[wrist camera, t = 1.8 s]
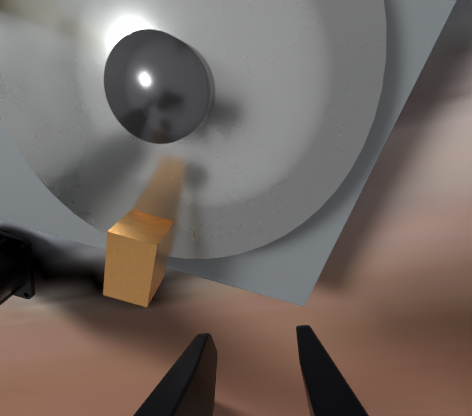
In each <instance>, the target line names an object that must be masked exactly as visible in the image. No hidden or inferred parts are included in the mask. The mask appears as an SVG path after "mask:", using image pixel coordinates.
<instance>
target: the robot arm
mask: <svg viewBox="0 0 472 416" xmlns="http://www.w3.org/2000/svg"><path fill="white" fill-rule="evenodd" d="M12 295H15V296H18V297H22V298H25V299H31V298H32V297H33V296H34V295H35V286H34V272H33V259H32V246H31V242H30V241H29V240H28V239H26V238H24V237H20V236H17V235H13V234H10V233H6V232H3V231H0V305H1V304H2V303H4V302H5V301H6V300H7V299H9V298H10V297H11V296H12ZM296 332H297V342H298V352H299V361H300V366H301V371H302V376H303V381H304V386H305V391H306V396H307V401H308V406H309V410H310V415H311V416H369V415H368V414H367V412H366V411H365V409H364V408H363V406H362V405H361V403H360V401H359V400H358V398H357V397H356V395H355V394H354V392H353V391H352V389H351V388H350V386H349V385H348V383H347V382H346V380H345V379H344V377H343V376H342V374H341V373H340V371H339V370H338V368H337V366H336V365H335V363H334V362H333V360H332V359H331V357H330V356H329V354H328V353H327V351H326V350H325V348H324V347H323V345H322V344H321V342H320V341H319V339H318V338H317V336H316V335H315V333H314V331H313V330H312V328H311V327H310V326H309V325H300V326H297V327H296ZM216 368H217V350H216V347H215V345H214V342H213V339H212V336H211V335H210V334H209V333H204V334H198V335H197V336H196V337H195V338H194V340H193V341H192V342H191V343H190V345H189V346H188V347H187V349H186V350H185V351H184V352H183V354H182V355H181V356H180V357H179V359H178V360H177V361H176V362H175V364H174V365H173V366H172V368H171V369H170V370H169V371H168V373H167V374H166V375H165V376H164V378H163V379H162V380H161V381H160V383H159V384H158V385H157V386H156V388H155V389H154V390H153V392H152V393H151V394H150V395H149V397H148V398H147V399H146V400H145V402H144V403H143V404H142V405H141V407H140V408H139V409H138V410H137V412H136V413H135V414H134V416H213V409H214V397H215V383H216Z"/></svg>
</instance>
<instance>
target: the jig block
mask: <svg viewBox="0 0 472 416" xmlns="http://www.w3.org/2000/svg"><path fill="white" fill-rule="evenodd" d="M456 1H457V0H384V6H385V15H386V62H385V70H384V77H383V85H382V91H381V95H380V99H379V103H378V107H377V110H376V114H375V118H374V121H373V124H372V126H371V129H370V131H369V134H368V136H367V139H366V141H365V144H364V146H363V148H362V150H361V152H360V154H359V156H358V158H357V159H356V161H355V163H354V165H353V167H352V169H351V170H350V172H349V173H348V175H347V176H346V177H345V179H344V180H343V182H342V183H341V184H340V186H339V187H338V189H337V190H336V191H335V192H334V194H333V195H332V196H331V197H330V198H329V199H328V200H327V201H326V202H325V203H324V205H323V206H322V207H321V208H320V209H319V210H318V211H316V212H315V213H314V214H313V215H312V216H311V217H309V218H308V219H307V220H306V221H305V222H304V223H302V224H301V225H299V226H298V227H296V228H295V229H293V230H292V231H290V232H289V233H287V234H286V235H284V236H283V237H281V238H279V239H277V240H275V241H273V242H271V243H269V244H267V245H264V246H262V247H259V248H256V249H253V250H251V251H248V252H245V253H240V254H236V255H232V256H227V257H219V258H210V259H184V258H176V257H167V262H166V268H170V269H173V270H177V271H180V272H184V273H187V274H191V275H194V276H198V277H202V278H205V279H209V280H212V281H216V282H219V283H223V284H226V285H230V286H233V287H237V288H240V289H244V290H247V291H251V292H254V293H258V294H261V295H265V296H268V297H272V298H275V299H279V300H282V301H286V302H289V303H293V304H296V305H300V306H303V307H304V306H305V304H306V302H307V300H308V298H309V296H310V294H311V292H312V290H313V288H314V286H315V284H316V282H317V280H318V278H319V276H320V274H321V272H322V270H323V268H324V265H325V263H326V261H327V259H328V257H329V255H330V253H331V251H332V249H333V247H334V245H335V243H336V241H337V239H338V237H339V235H340V233H341V231H342V229H343V227H344V225H345V223H346V221H347V219H348V217H349V215H350V213H351V211H352V209H353V207H354V205H355V203H356V201H357V199H358V197H359V195H360V193H361V191H362V189H363V187H364V185H365V183H366V181H367V179H368V177H369V175H370V173H371V171H372V169H373V167H374V165H375V163H376V161H377V159H378V157H379V155H380V153H381V151H382V149H383V147H384V145H385V143H386V141H387V139H388V137H389V135H390V133H391V131H392V129H393V127H394V125H395V123H396V121H397V119H398V117H399V115H400V113H401V111H402V109H403V107H404V105H405V103H406V101H407V99H408V97H409V95H410V93H411V91H412V89H413V87H414V85H415V83H416V81H417V79H418V77H419V75H420V73H421V71H422V69H423V67H424V65H425V63H426V61H427V59H428V57H429V55H430V53H431V51H432V49H433V47H434V45H435V43H436V41H437V39H438V37H439V35H440V33H441V31H442V29H443V27H444V25H445V23H446V21H447V19H448V17H449V15H450V13H451V11H452V9H453V7H454V5H455V3H456ZM0 220H1V221H5V222H8V223H12V224H15V225H19V226H22V227H26V228H29V229H33V230H36V231H40V232H43V233H47V234H50V235H54V236H57V237H61V238H64V239H68V240H71V241H75V242H79V243H82V244H86V245H89V246H93V247H96V248H100V249H103V250H106V244H107V235H106V234H104V233H102V232H101V231H99V230H97V229H96V228H94V227H92V226H91V225H89V224H88V223H86V222H85V221H84V220H82V219H81V218H80V217H78V216H77V215H76V214H74V213H73V212H72V211H71V210H70V209H68V208H67V207H66V206H65V205H64V204H63V203H62V202H60V201H59V200H58V199H57V198H56V197H55V196H54V195H53V194H52V193H51V192H50V190H49V189H48V188H47V187H46V186H45V185H44V184H43V183H42V182H41V181H40V180H39V178H38V177H37V176H36V174H35V173H34V172H33V170H32V169H31V168H30V167H29V165H28V164H27V163H26V161H25V160H24V158H23V157H22V155H21V154H20V152H19V150H18V149H17V147H16V146H15V144H14V142H13V141H12V139H11V137H10V135H9V133H8V131H7V129H6V127H5V125H4V123H3V121H2V120H1V118H0Z"/></svg>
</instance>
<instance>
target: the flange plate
mask: <svg viewBox="0 0 472 416" xmlns="http://www.w3.org/2000/svg"><path fill="white" fill-rule="evenodd" d="M385 62H386V15H385V6H384V0H0V118H1V120H2V121H3V123H4V125H5V127H6V129H7V131H8V133H9V135H10V137H11V139H12V141H13V142H14V144H15V146H16V147H17V149H18V150H19V152H20V154H21V155H22V157H23V158H24V160H25V161H26V163H27V164H28V165H29V167H30V168H31V169H32V170H33V172H34V173H35V174H36V176H37V177H38V178H39V180H40V181H41V182H42V183H43V184H44V185H45V186H46V187H47V188H48V189H49V190H50V192H51V193H52V194H53V195H54V196H55V197H56V198H57V199H58V200H59V201H60V202H62V203H63V204H64V205H65V206H66V207H67V208H68V209H70V210H71V211H72V212H73V213H74V214H76V215H77V216H78V217H80V218H81V219H82V220H84V221H85V222H86V223H88V224H89V225H91V226H92V227H94V228H96V229H97V230H99V231H101V232H102V233H104V234H106V235H107V244H106V259H105V273H104V288H103V295H105V296H109V297H112V298H116V299H119V300H123V301H126V302H130V303H133V304H137V305H140V306H144V307H148V305H149V303H150V301H151V299H152V298H153V296H154V294H155V292H156V290H157V288H158V287H159V285H160V283H161V281H162V279H163V278H164V273H165V267H166V262H167V257H176V258H184V259H210V258H219V257H227V256H232V255H236V254H240V253H245V252H248V251H251V250H253V249H256V248H259V247H262V246H264V245H267V244H269V243H271V242H273V241H275V240H277V239H279V238H281V237H283V236H284V235H286V234H287V233H289V232H290V231H292V230H293V229H295V228H296V227H298V226H299V225H301V224H302V223H304V222H305V221H306V220H307V219H308V218H309V217H311V216H312V215H313V214H314V213H315V212H316V211H318V210H319V209H320V208H321V207H322V206H323V205H324V203H325V202H326V201H327V200H328V199H329V198H330V197H331V196H332V195H333V194H334V192H335V191H336V190H337V189H338V187H339V186H340V184H341V183H342V182H343V180H344V179H345V177H346V176H347V175H348V173H349V172H350V170H351V169H352V167H353V165H354V163H355V161H356V159H357V158H358V156H359V154H360V152H361V150H362V148H363V146H364V144H365V141H366V139H367V136H368V134H369V131H370V129H371V126H372V124H373V121H374V118H375V114H376V110H377V107H378V103H379V99H380V95H381V91H382V85H383V77H384V70H385Z"/></svg>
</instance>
